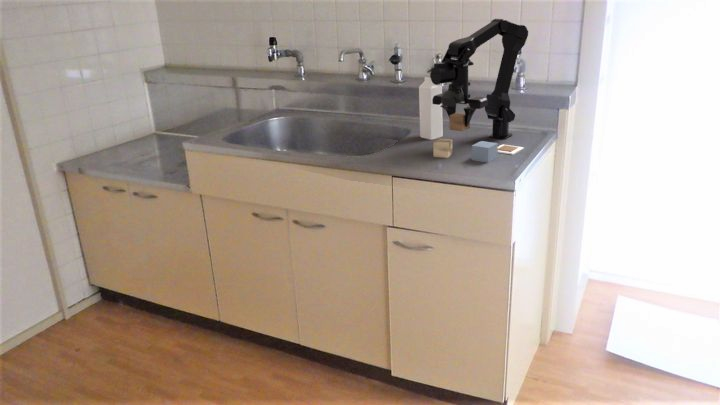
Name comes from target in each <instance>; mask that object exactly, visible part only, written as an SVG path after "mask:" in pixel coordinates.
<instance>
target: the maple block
mask: <svg viewBox="0 0 720 405" xmlns="http://www.w3.org/2000/svg"><path fill="white" fill-rule="evenodd" d="M432 146H433V150H432V151H433V158H446V159H449V158H450V157H451V155H453V139H452V138H451V139H450V138H436V139H435V141H433V143H432Z"/></svg>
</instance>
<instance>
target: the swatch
mask: <svg viewBox="0 0 720 405" xmlns="http://www.w3.org/2000/svg"><path fill="white" fill-rule="evenodd" d="M524 149H525V147H522V146H516V145H510V144H501V145H500V144H499V146H498V154H499V153H500V154H505V155H506V154H507V155H512V156H513V155H515V154H517V153H520V152H521V151H522V150H524Z"/></svg>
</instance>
